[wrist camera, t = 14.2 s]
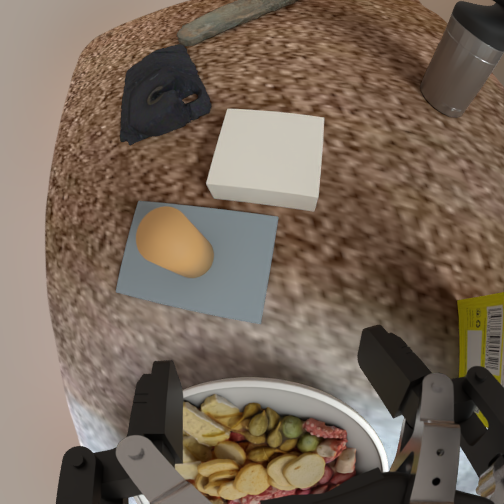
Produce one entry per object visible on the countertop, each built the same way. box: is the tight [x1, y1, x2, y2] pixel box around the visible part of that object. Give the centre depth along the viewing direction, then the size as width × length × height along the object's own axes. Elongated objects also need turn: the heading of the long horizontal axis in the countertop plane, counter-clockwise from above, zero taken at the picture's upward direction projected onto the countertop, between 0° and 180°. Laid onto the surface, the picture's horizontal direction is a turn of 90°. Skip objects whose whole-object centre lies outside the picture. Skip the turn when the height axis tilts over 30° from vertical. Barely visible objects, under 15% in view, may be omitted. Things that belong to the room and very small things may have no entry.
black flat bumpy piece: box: [120, 44, 211, 145], centre depth 38 cm, size 15×22×5 cm
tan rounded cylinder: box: [136, 206, 214, 278], centre depth 27 cm, size 5×5×9 cm
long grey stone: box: [177, 0, 297, 46], centre depth 42 cm, size 35×5×10 cm
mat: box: [116, 201, 278, 324], centre depth 32 cm, size 12×18×1 cm, turn 80°
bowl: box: [133, 377, 388, 504], centre depth 22 cm, size 30×30×8 cm
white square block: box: [206, 109, 324, 211], centre depth 32 cm, size 11×12×4 cm
